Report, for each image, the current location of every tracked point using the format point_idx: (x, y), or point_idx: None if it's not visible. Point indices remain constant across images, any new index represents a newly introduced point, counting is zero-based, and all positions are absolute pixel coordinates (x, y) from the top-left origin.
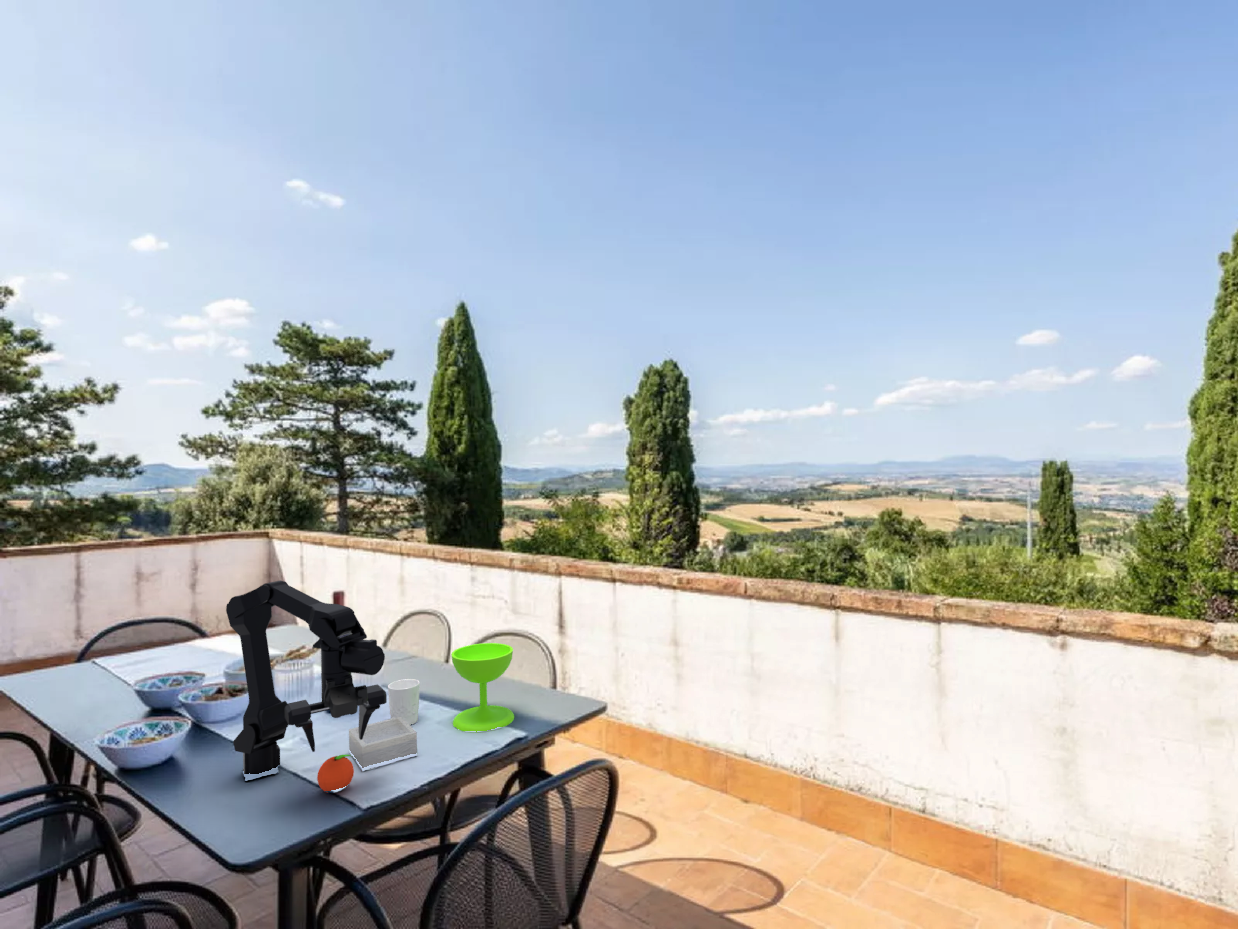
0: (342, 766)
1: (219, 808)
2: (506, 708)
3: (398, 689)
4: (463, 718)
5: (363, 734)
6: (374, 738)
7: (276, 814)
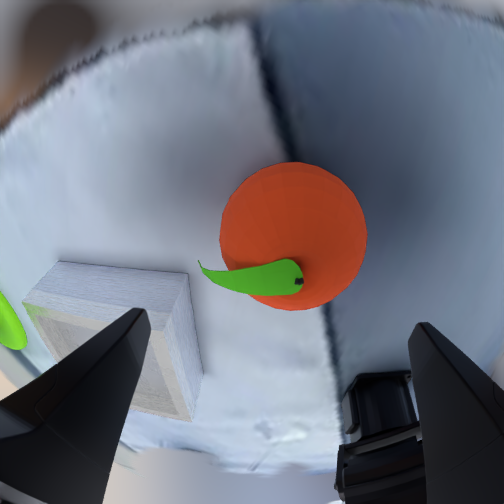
0: (280, 205)
1: (486, 306)
2: None
3: None
4: (7, 328)
5: (114, 322)
6: None
7: (457, 194)
